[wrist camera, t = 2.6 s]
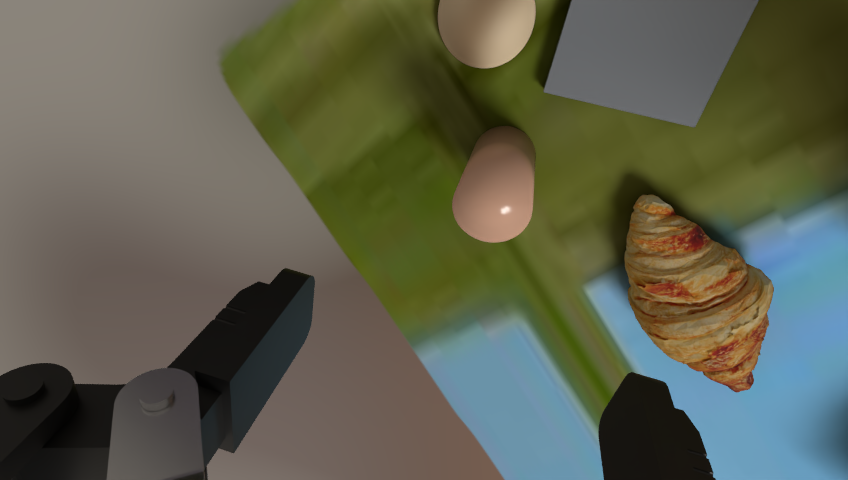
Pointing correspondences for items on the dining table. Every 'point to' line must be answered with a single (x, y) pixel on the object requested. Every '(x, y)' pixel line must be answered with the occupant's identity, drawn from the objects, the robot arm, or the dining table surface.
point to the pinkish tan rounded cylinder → (497, 186)
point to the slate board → (647, 54)
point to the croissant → (695, 295)
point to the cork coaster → (485, 29)
